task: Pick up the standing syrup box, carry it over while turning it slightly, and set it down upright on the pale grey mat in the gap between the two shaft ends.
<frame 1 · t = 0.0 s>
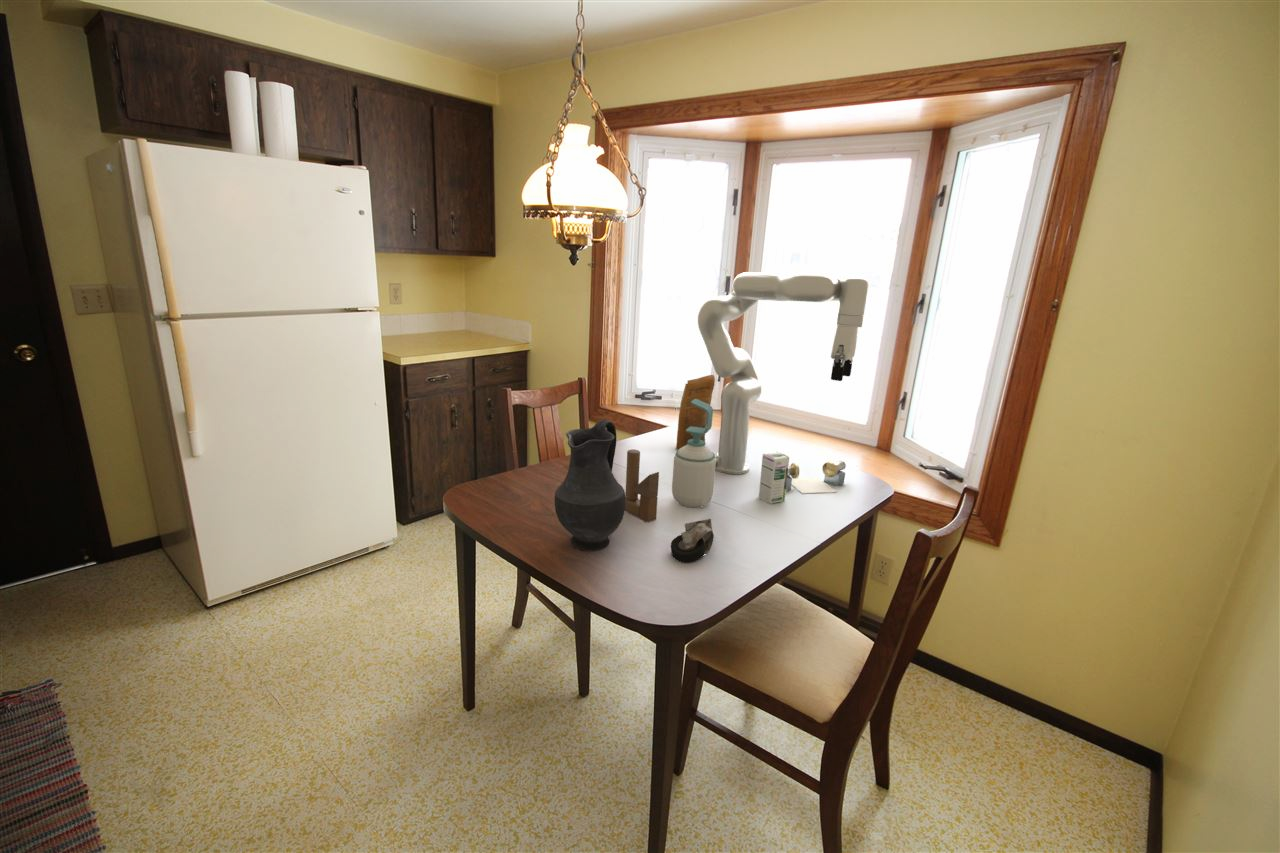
hand: (840, 377, 168), 37 cm above the table, tool pointing down, fingers open, 9 cm apart
pitcher: (592, 539, 141), on the table
soap bottle: (691, 502, 166), on the table
caster wheel: (693, 555, 136), on the table
syrup box: (771, 499, 171), on the table
mat: (810, 485, 183), on the table
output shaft: (833, 482, 187), on the table
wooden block: (638, 515, 156), on the table
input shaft: (781, 487, 181), on the table
pancake mix bag: (692, 446, 217), on the table
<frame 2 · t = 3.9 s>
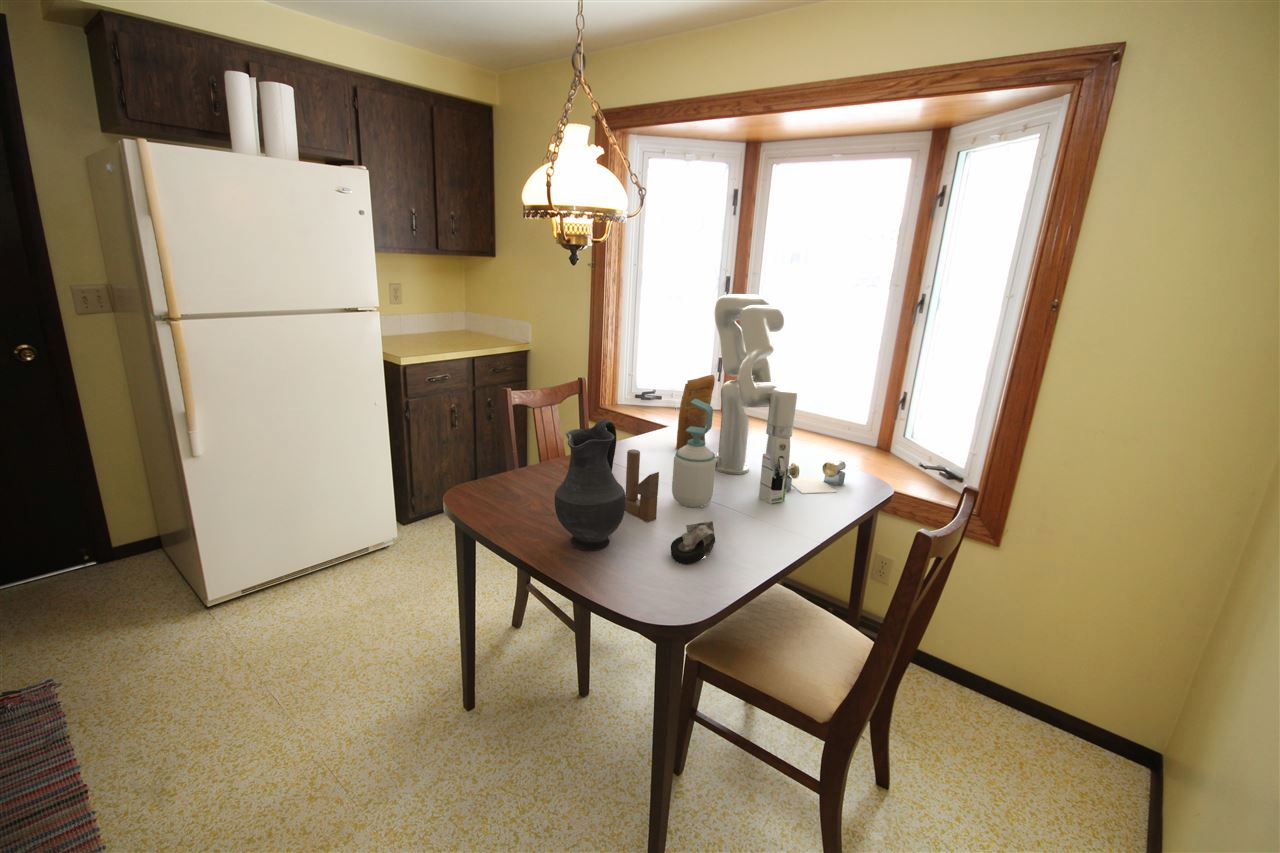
hand: (772, 484, 169), 5 cm above the table, tool pointing down, fingers closed on syrup box, 7 cm apart
syrup box: (771, 499, 171), on the table, touching gripper
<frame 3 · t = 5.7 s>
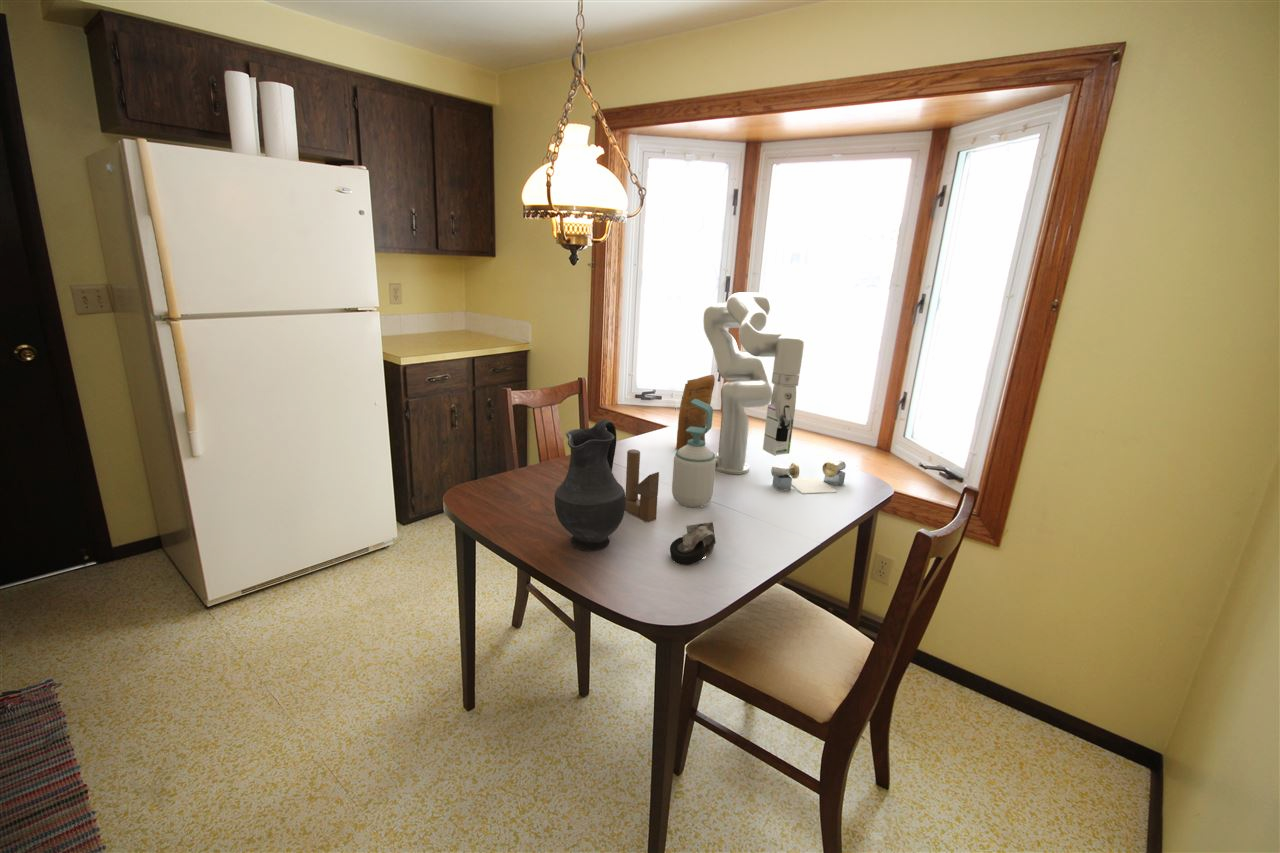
hand: (777, 436, 166), 20 cm above the table, tool pointing down, fingers closed on syrup box, 7 cm apart
syrup box: (775, 452, 167), point 15 cm above the table, touching gripper
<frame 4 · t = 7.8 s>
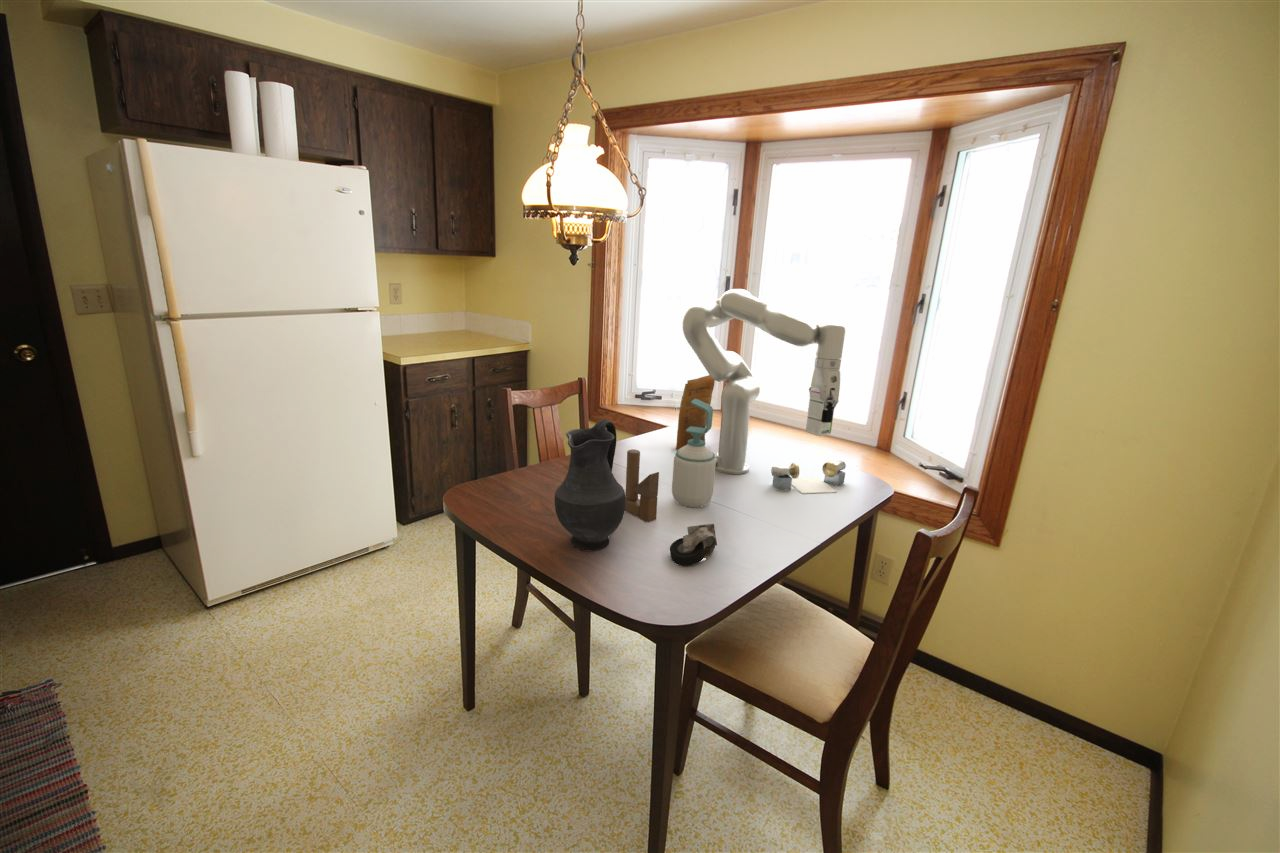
hand: (819, 418, 176), 23 cm above the table, tool pointing down, fingers closed on syrup box, 7 cm apart
syrup box: (817, 433, 178), point 18 cm above the table, touching gripper
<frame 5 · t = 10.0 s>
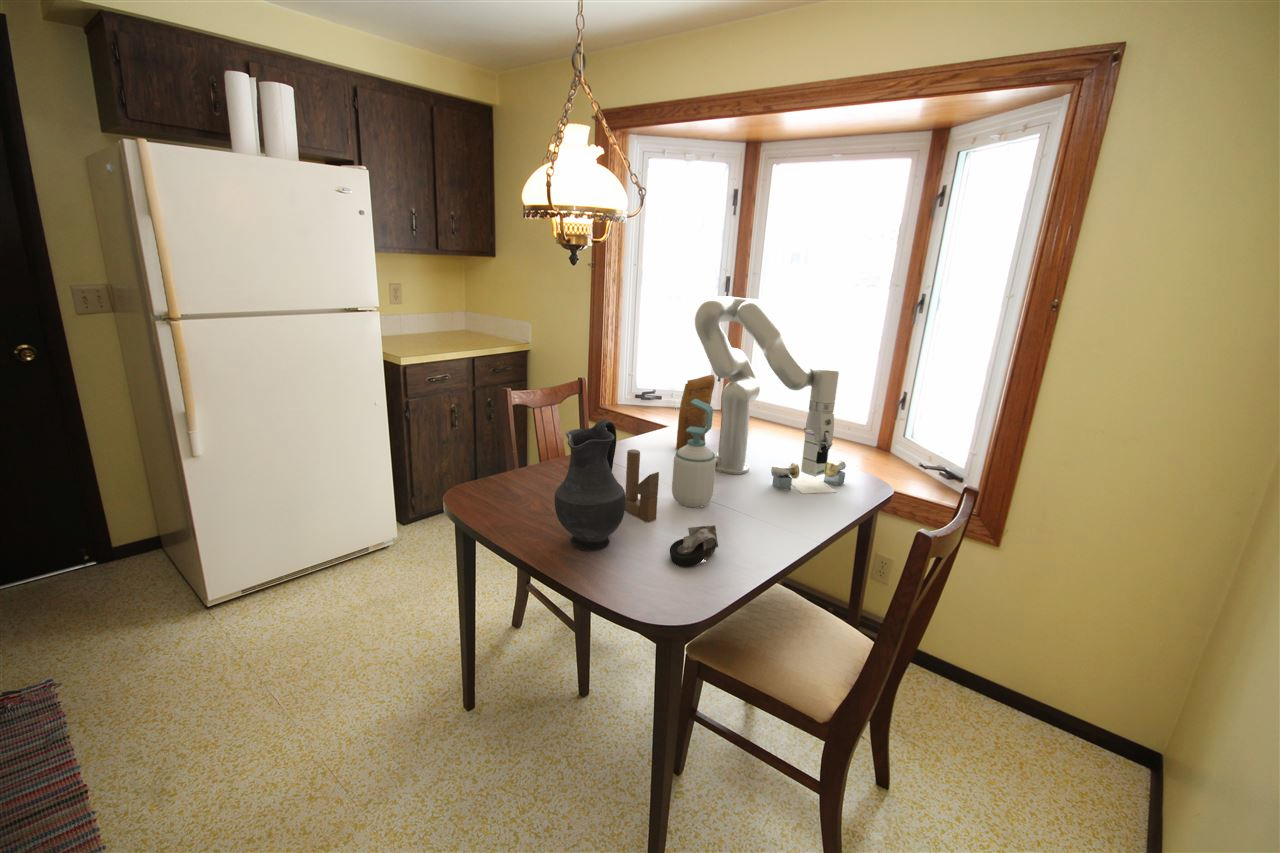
hand: (814, 458, 180), 10 cm above the table, tool pointing down, fingers closed on syrup box, 7 cm apart
syrup box: (812, 473, 181), point 5 cm above the table, touching gripper
when the fingers open (6 cm above the table, at t = 11.9 s): syrup box stays where it is, resting on mat.
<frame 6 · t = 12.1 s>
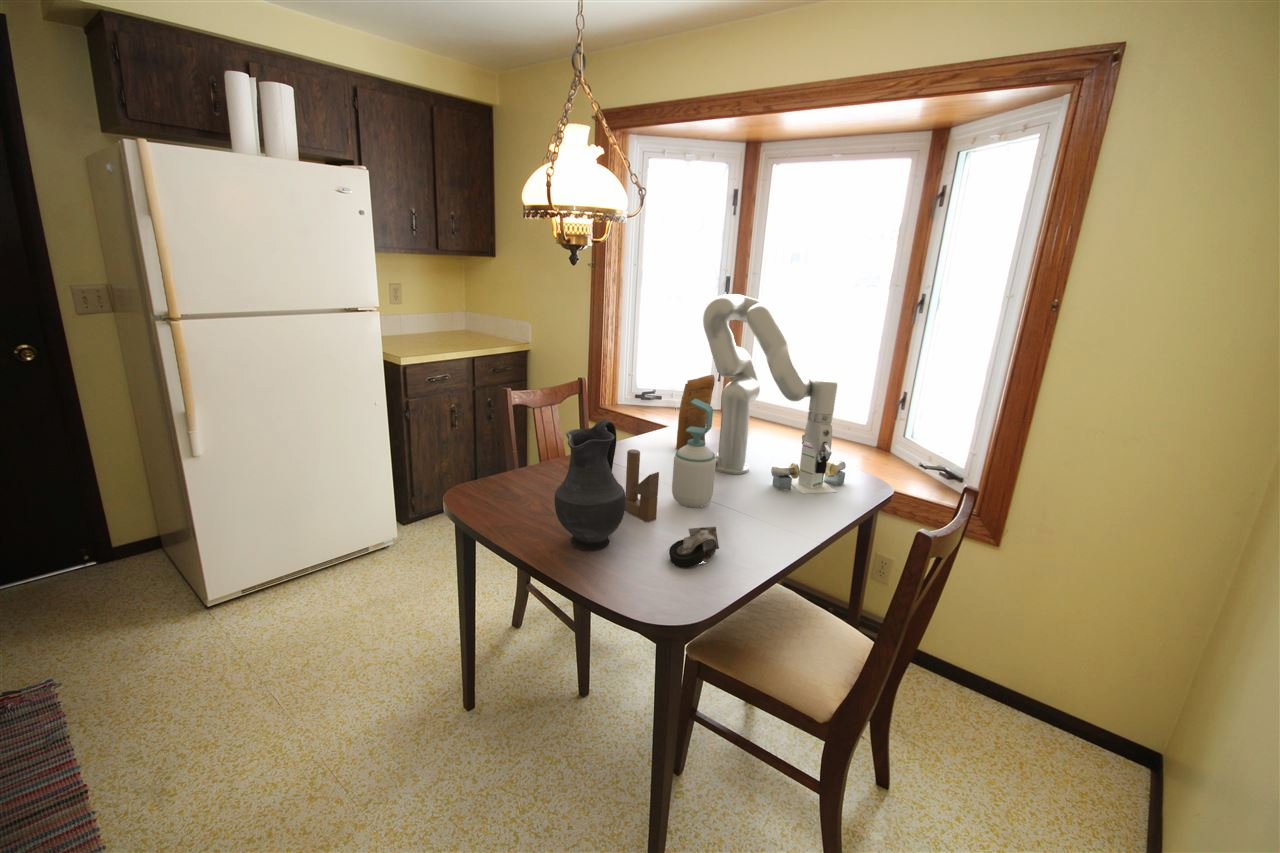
hand: (812, 467, 181), 6 cm above the table, tool pointing down, fingers open, 9 cm apart
syrup box: (809, 485, 183), resting on mat
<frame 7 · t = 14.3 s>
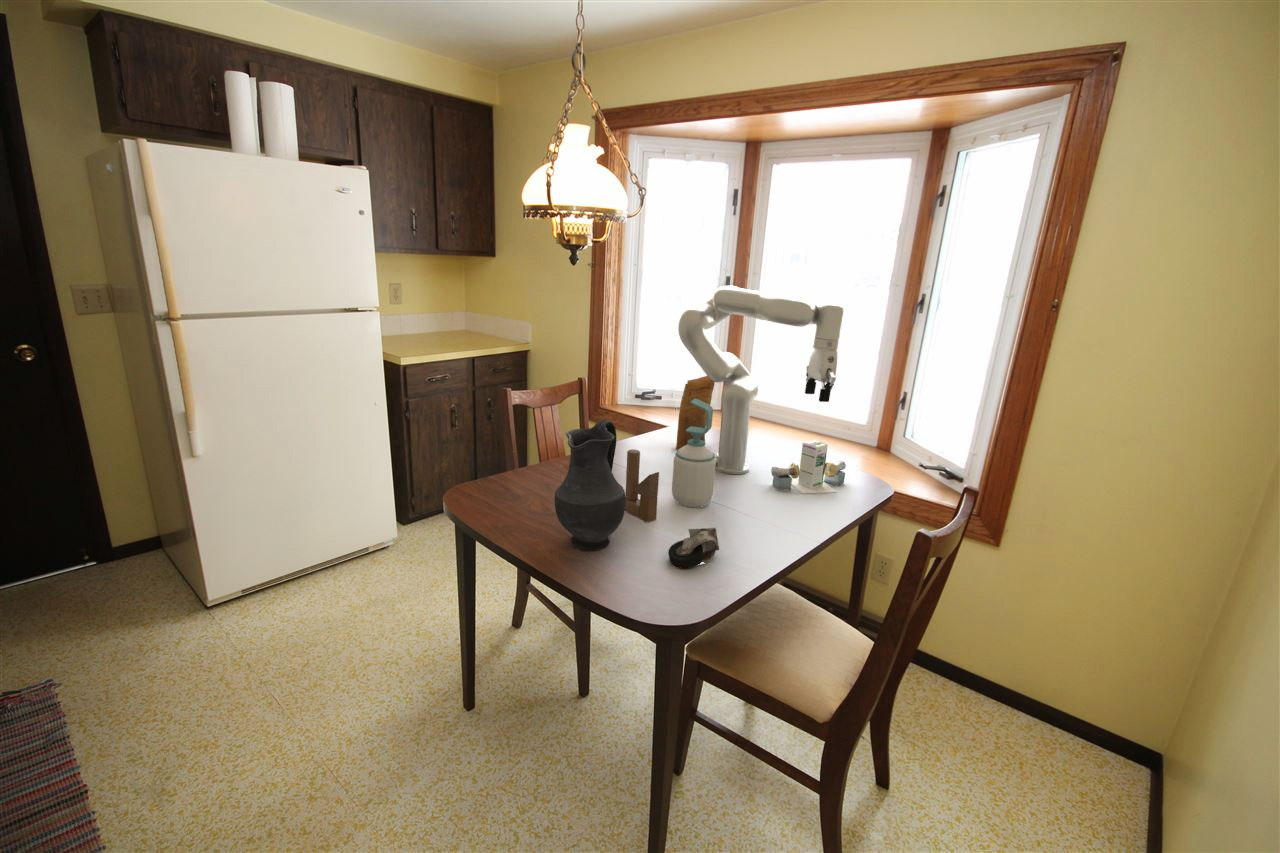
hand: (816, 397, 177), 29 cm above the table, tool pointing down, fingers open, 9 cm apart
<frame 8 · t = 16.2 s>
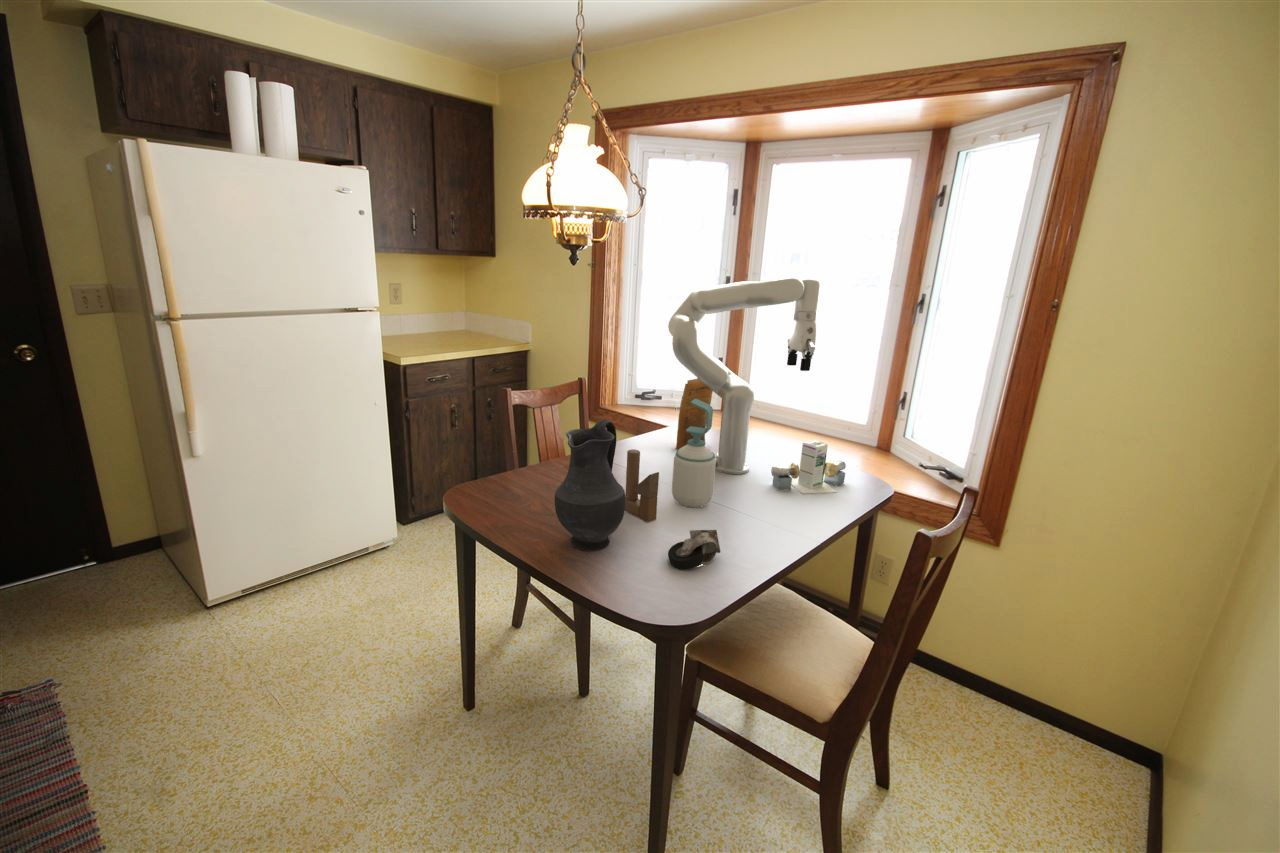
hand: (797, 367, 188), 36 cm above the table, tool pointing down, fingers open, 9 cm apart
at the end: syrup box inside the target area on the mat (0.2 cm from its centre), point 0.1 cm above the mat's base; syrup box tilted 0°; the gripper is holding nothing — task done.
